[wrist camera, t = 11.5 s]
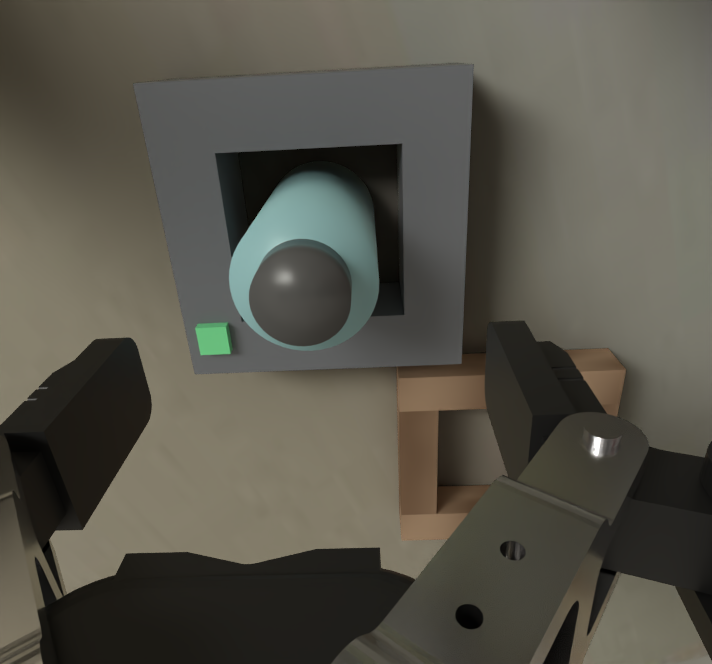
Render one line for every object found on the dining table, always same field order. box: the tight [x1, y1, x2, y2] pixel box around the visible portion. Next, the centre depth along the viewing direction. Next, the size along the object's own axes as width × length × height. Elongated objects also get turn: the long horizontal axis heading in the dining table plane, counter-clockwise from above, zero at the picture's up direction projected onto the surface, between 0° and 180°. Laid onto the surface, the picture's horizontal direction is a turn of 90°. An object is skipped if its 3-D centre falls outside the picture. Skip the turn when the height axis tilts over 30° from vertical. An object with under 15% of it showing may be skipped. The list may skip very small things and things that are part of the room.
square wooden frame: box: [396, 348, 626, 540], centre depth 27 cm, size 10×10×2 cm
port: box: [133, 63, 474, 374], centre depth 21 cm, size 11×11×4 cm
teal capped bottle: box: [229, 161, 379, 351], centre depth 19 cm, size 4×4×9 cm
